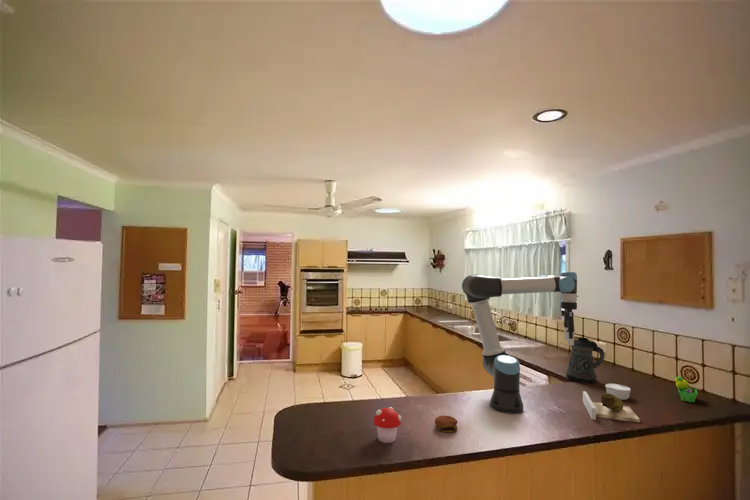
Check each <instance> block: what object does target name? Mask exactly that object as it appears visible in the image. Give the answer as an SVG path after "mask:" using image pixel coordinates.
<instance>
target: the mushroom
mask: <svg viewBox="0 0 750 500" xmlns="http://www.w3.org/2000/svg"><path fill="white" fill-rule="evenodd" d="M401 421H402V415H400V414H399V413H398V412H397V411H396V410H395V409H394V408H393V407H392V406H389V407H383V408H381V409H377V410H376V411H375V415H374V417H373V425H374V426H376V427H377V428H376V430H377V432H376V433H377V439H378V441H379V442H381V443H384V444H392V443H394V442H395V441H396V439H397V431H398V427H400V426H401V425H402V423H401Z"/></svg>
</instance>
